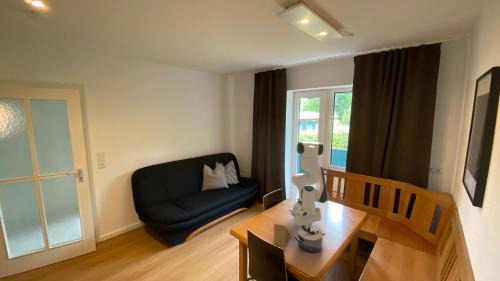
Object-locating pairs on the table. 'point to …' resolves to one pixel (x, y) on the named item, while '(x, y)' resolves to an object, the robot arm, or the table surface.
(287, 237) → the sandwich container
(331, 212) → the table surface
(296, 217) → the robot arm
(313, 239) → the lid
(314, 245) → the cooker pot
